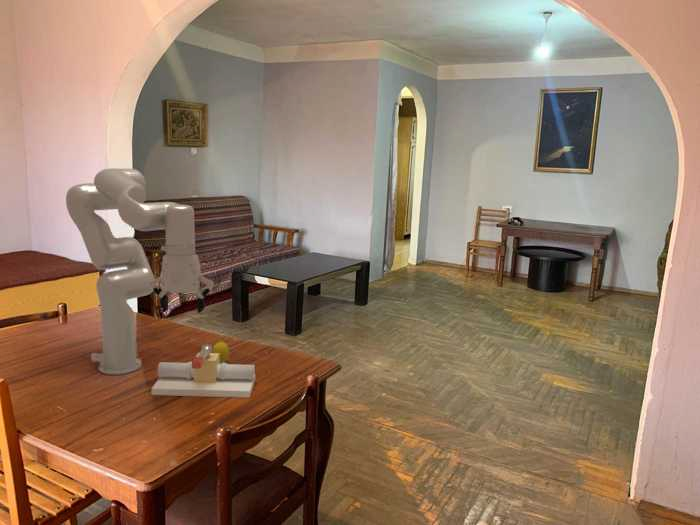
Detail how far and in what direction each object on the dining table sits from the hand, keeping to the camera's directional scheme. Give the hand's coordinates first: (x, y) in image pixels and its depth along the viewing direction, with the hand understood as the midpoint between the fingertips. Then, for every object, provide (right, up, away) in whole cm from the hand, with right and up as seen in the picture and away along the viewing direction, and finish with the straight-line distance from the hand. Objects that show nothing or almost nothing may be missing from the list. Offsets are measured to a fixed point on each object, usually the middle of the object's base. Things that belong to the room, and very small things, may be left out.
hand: (182, 311), depth 149 cm
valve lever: (+4, -14, +6) cm, 16 cm away
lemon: (+3, -21, +29) cm, 36 cm away
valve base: (+3, -24, +12) cm, 27 cm away
